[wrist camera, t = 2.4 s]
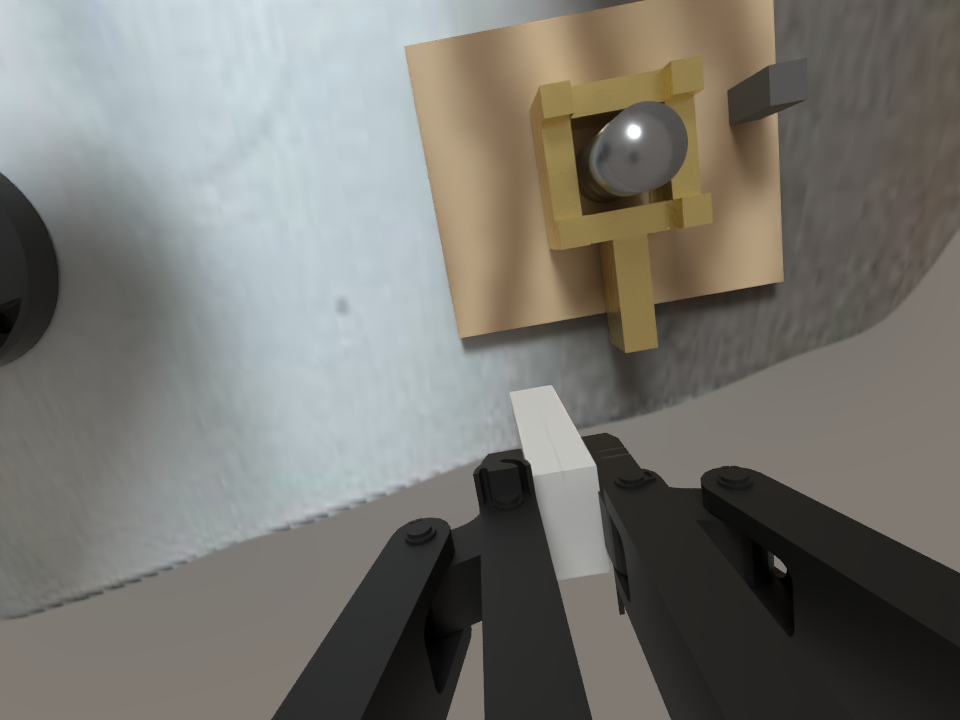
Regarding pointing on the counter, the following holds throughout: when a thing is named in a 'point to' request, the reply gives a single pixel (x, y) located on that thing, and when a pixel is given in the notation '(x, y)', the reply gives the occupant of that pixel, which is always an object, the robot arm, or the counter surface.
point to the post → (632, 153)
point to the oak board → (512, 160)
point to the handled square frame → (624, 228)
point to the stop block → (768, 91)
